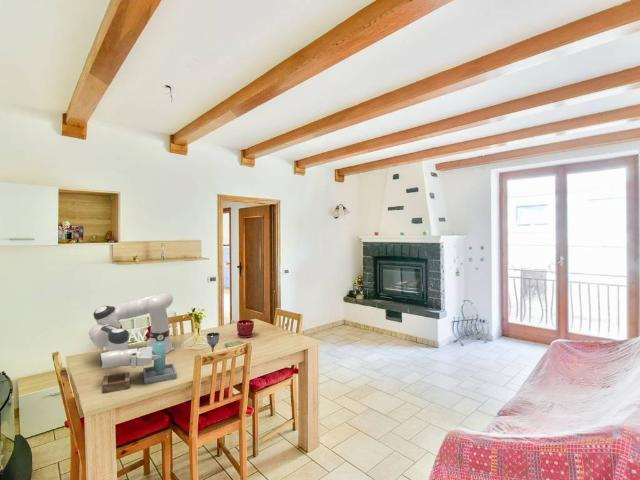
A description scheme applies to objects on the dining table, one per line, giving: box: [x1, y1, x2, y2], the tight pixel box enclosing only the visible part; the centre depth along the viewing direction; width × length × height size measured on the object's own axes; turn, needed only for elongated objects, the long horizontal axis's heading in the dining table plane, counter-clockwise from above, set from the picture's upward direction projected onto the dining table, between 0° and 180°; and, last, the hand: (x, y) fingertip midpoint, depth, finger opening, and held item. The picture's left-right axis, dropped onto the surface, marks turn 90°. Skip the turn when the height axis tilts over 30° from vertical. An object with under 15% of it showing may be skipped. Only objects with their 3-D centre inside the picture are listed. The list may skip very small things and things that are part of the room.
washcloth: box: [224, 340, 245, 349], centre depth 243 cm, size 13×18×3 cm
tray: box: [142, 363, 178, 385], centre depth 194 cm, size 16×16×3 cm
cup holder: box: [101, 372, 131, 394], centre depth 180 cm, size 12×12×4 cm
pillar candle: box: [153, 342, 167, 372], centre depth 193 cm, size 6×6×15 cm
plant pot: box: [236, 319, 255, 339], centre depth 269 cm, size 13×13×12 cm
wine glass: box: [206, 331, 220, 353], centre depth 224 cm, size 8×8×15 cm
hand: (161, 353), depth 194 cm, fingers closed on pillar candle, 6 cm apart
